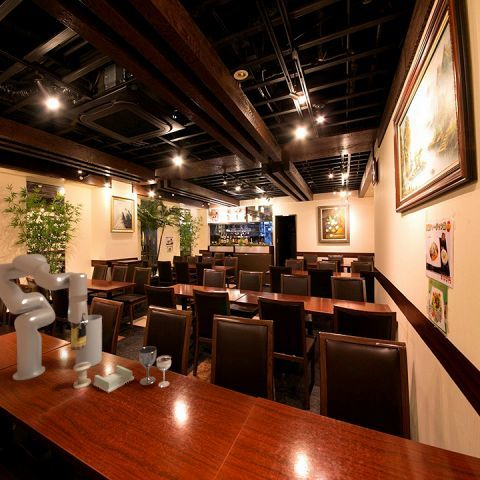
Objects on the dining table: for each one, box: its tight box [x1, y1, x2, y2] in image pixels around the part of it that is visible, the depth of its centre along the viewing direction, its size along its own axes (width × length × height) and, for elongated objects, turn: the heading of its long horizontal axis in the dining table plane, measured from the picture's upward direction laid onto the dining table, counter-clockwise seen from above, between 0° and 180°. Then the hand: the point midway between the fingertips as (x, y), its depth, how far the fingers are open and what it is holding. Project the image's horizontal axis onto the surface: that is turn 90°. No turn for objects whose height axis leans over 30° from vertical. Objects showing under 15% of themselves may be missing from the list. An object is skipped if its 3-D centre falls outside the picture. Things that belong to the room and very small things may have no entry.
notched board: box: [93, 364, 135, 394], centre depth 121 cm, size 12×13×4 cm
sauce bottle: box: [70, 321, 86, 351], centre depth 123 cm, size 6×6×20 cm
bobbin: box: [73, 362, 92, 389], centre depth 119 cm, size 7×7×9 cm
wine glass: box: [138, 345, 157, 386], centre depth 122 cm, size 8×8×15 cm
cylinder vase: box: [75, 314, 103, 368], centre depth 140 cm, size 12×12×25 cm
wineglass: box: [155, 355, 172, 388], centre depth 119 cm, size 7×7×12 cm
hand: (78, 334), depth 123 cm, fingers closed on sauce bottle, 6 cm apart
